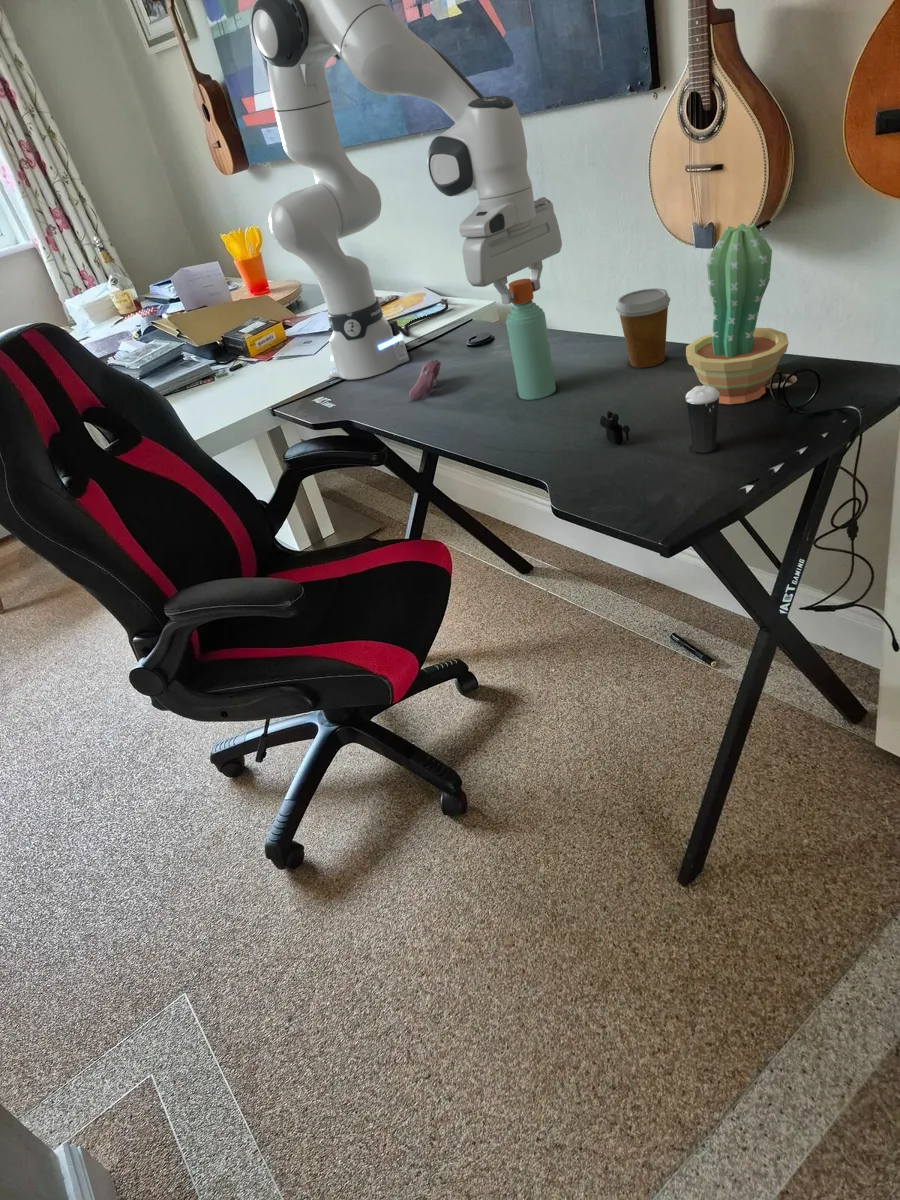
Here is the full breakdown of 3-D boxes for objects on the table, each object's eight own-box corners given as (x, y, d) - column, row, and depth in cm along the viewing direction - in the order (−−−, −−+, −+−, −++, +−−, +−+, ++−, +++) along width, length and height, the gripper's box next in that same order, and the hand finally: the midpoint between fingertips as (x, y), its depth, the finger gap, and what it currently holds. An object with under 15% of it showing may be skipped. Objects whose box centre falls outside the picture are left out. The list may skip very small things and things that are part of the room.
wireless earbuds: (633, 446, 118) (631, 415, 116) (620, 452, 118) (617, 421, 115) (605, 435, 124) (602, 405, 121) (593, 440, 123) (589, 410, 120)
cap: (508, 301, 137) (505, 283, 136) (528, 295, 138) (525, 277, 136) (516, 305, 134) (513, 287, 132) (536, 299, 135) (534, 280, 133)
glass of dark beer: (678, 447, 115) (674, 382, 109) (714, 438, 115) (712, 373, 109) (688, 459, 111) (685, 393, 106) (725, 450, 111) (724, 383, 105)
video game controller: (428, 407, 156) (436, 374, 151) (407, 400, 156) (414, 367, 151) (438, 388, 163) (446, 357, 159) (418, 381, 163) (425, 350, 159)
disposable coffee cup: (680, 351, 146) (677, 286, 140) (663, 371, 140) (658, 303, 134) (632, 352, 151) (627, 289, 145) (613, 371, 145) (607, 306, 139)
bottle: (513, 392, 148) (494, 287, 137) (547, 381, 149) (531, 276, 138) (526, 403, 142) (508, 294, 131) (561, 391, 143) (546, 282, 132)
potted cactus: (809, 384, 123) (817, 213, 109) (739, 420, 118) (738, 246, 104) (733, 368, 134) (731, 212, 121) (666, 400, 129) (656, 241, 116)
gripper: (537, 194, 135) (548, 277, 143) (451, 229, 126) (468, 315, 133) (564, 192, 131) (574, 277, 138) (477, 228, 121) (493, 317, 129)
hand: (521, 296), depth 136 cm, fingers open, 5 cm apart
